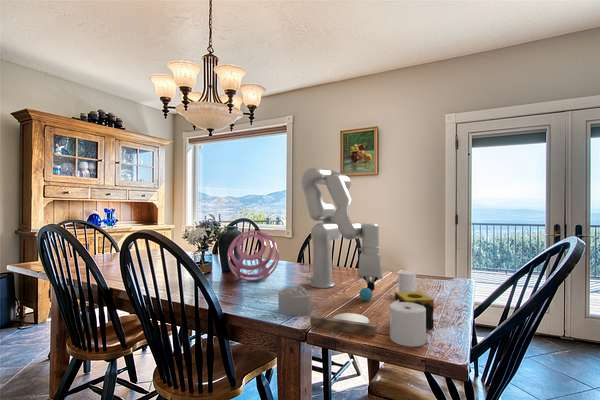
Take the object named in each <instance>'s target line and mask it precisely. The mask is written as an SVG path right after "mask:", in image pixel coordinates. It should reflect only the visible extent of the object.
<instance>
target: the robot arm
mask: <svg viewBox="0 0 600 400" xmlns="http://www.w3.org/2000/svg"><path fill="white" fill-rule="evenodd" d="M351 184H352V183H351V179H350V178H349V177H348V176H347V175H345V174H342V173H340V172H337V171H334V170H333V169H329V168H324V167H323V168H322V167H309V168H307V169H306V170H305V171H304V172H303V174H302V176H301V187H302V191H303V194H304V196H305V201H306V206H307V210H308V214H309V217H310V219H311V220H312V221H316V222H320V221H322V222H320V223H316V224H314V225H313V226H312V227H311V230H310V236H311V242H312V244H311V245H312V269H313V270H312V275H306V276H305V279H306V281H310V282H309V285H310V286H311V287H313V288H317V289H329V288H334V287H335V286H336V283H335V282H334V281H333V271H332V269H333V266H332V265H333V263H332V261H333V258H332V255H333V254H332V253H333V251H332V250H333V249H332V245H331V241H335V240H337V239H339V238H340V236H342V238H344V239H345V240H347V241H349V240H350V241H351V240H352V241H353V240H357V239H361V247H359V248H358V251H359V252H361V253H360V254H359V257H358V258H359V259H358V260H359V261H358V277H359V278H361V279H364V281H365V282H366V286H367V287H366V288H369V289H370V290H371V291H372V293H373V292H374V290H375V289H376V288H375V283H376V282H377V281H379V280H383V278H384V276H383V262H382V255H381V254H380V246H379V245H380V243H379V242H380V239H379V237H380V236H379V235H380V234H379V233H380V232H379V231H380V230H379V225H378V224H377V223H363V222H352V221H351V219H350V216H349V211H348V210H349V207H350V205H351V204H352V203H353V202H352V201H353V200H352V197H351V195H350V193H349V190H350V187H351V186H352V185H351ZM318 185H325V186H326V188H327V191H328V193H329V195H330V197H331V199H332V202H333V204H332V203H330V202H325V201H324V199H323V195H322V192H321V190H320V189H319V187H318Z"/></svg>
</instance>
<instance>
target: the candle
mask: <svg viewBox="0 0 600 400" xmlns="http://www.w3.org/2000/svg"><path fill="white" fill-rule="evenodd" d="M396 300H399V302H410V303H415V304H419V305H422V306H424V307H425V308H426V330H431V329H434V328H435V326H434V325H435V324H434V323H435V321H434V308H435V305H434V303H435V301H434V300H435V299H434V298H432V297H430V296H429V295H427V294H425V293H423V292H422V291H415V292H399V291H395V292H394V301H396Z"/></svg>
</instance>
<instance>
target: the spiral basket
mask: <svg viewBox="0 0 600 400" xmlns="http://www.w3.org/2000/svg"><path fill="white" fill-rule="evenodd" d="M248 238H249V239H250V238H256V239H258V240H259V241H260V243H261V244H260V245H261V246H260V249H259V251H257V250H256V249H253V251H254V254H247V253H248V250H249V249H248V248H246V250H244V251H243V249H242V244H243V242H244V241H245V240H246V239H248ZM266 240H267V242H268V243H269V253H268V255H267V256H266V258H265V259H264V260H263V259H262V256H263V255H264V254H265V252H266V249H267V243H266ZM235 247H236V250H237V251H236V252H237V254H238V255H239V256H240V259H239V260H238V259H237V257H236V256H235V252H234V249H235ZM274 251H275V256H274V258H273V255H274ZM272 258H273V261H272V263H271V264H270V265H269V267H267V264H268V263H270V261H271V260H272ZM231 260H232V261H233V263H234V264H235V266H236V267H235V266H234V265H233V263H232V261H231ZM244 260H245V261H256V260H257V262H258V263H257V264H253V265H247V264H245V263H243V262H244ZM279 261H280V252H279V248H278V245H277V242H276V241H275V240H274V238H272V236H271V235H269V234H267V233H266V232H263V231H260V230H248V231H244V232H242V233H240V234H238V236H237V237H236V236H235V238H234V239H233V240H232V241H231V243H230V244H229V247H228V250H227V263H228V267H229V269H230V271H231V272H232V274H233V275H234V276H236V278H238V279H240V280H243V282H244V281H245V282H250V283H251V282H252V283H253V282H259V281H262V280H266V279H268V278H269V277H270V276H271V275H272V274H273V272H274V271H275V270H276V269H277V267H278V264H279ZM260 269H261V270H262V271H261V270H260ZM241 270H244V271H245V270H246V271H249V272H247V273H245V272H242V271H241ZM255 270H258V272H257V273H252V272H253V271H255ZM259 277H260V278H259ZM250 278H251V279H250ZM253 278H255V279H253Z"/></svg>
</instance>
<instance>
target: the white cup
mask: <svg viewBox="0 0 600 400" xmlns="http://www.w3.org/2000/svg"><path fill="white" fill-rule="evenodd" d="M416 277H417V272H415V271H412V270H399V271H397V281H398V282H397V283H398V292H416V281H417V279H416Z"/></svg>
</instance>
